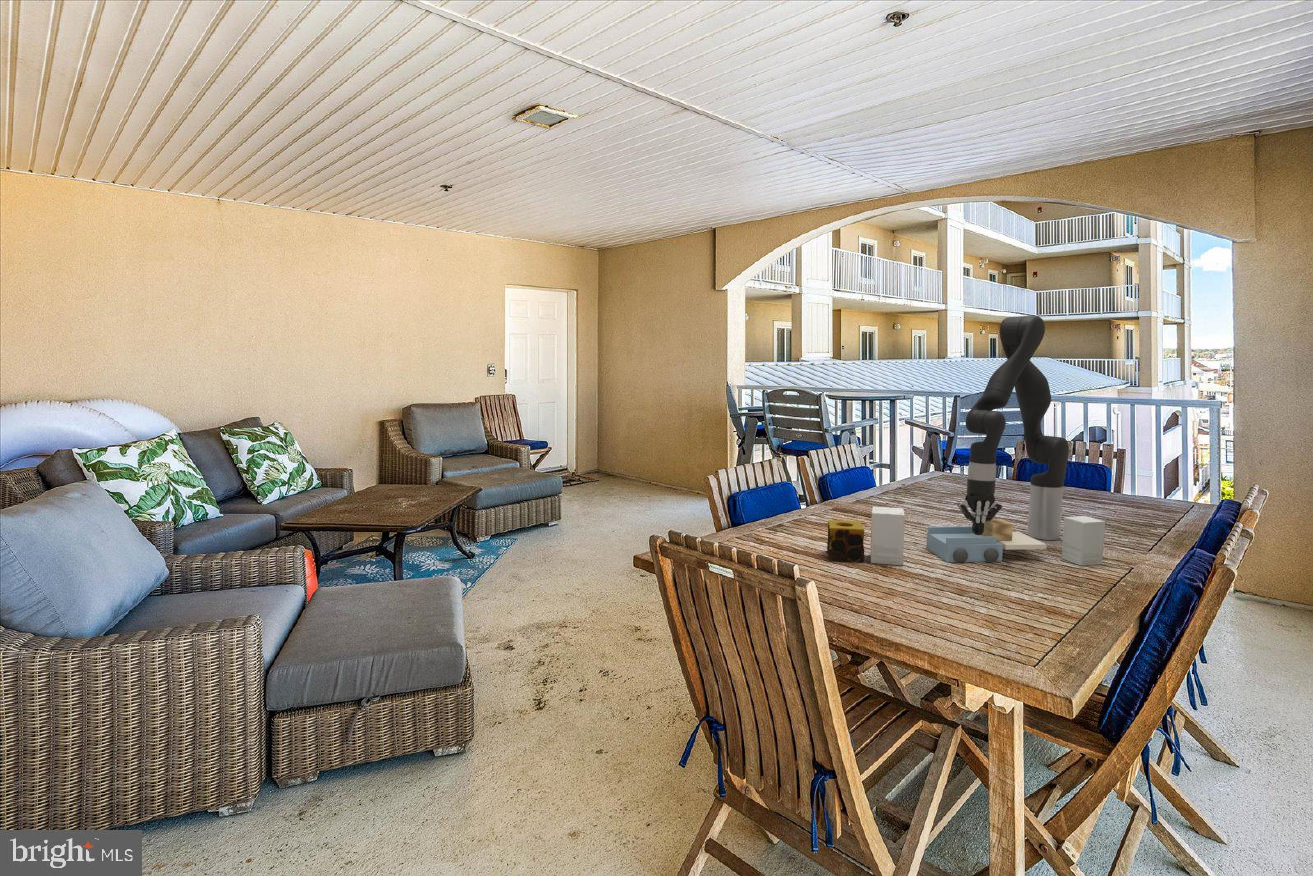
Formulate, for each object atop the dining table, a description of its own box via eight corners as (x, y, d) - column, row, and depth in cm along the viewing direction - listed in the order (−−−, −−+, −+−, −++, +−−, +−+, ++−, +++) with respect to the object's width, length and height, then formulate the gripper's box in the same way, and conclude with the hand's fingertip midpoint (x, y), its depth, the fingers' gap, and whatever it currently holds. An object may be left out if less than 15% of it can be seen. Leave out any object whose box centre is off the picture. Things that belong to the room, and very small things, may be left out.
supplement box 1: (902, 557, 195) (904, 507, 193) (903, 566, 186) (905, 514, 184) (870, 554, 197) (872, 505, 196) (869, 563, 189) (871, 512, 187)
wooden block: (1000, 535, 199) (1002, 519, 199) (1011, 540, 193) (1013, 524, 193) (981, 535, 199) (982, 519, 198) (991, 540, 193) (993, 524, 192)
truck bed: (975, 546, 205) (976, 524, 204) (1003, 562, 189) (1004, 538, 188) (925, 547, 204) (926, 525, 203) (948, 563, 189) (950, 539, 188)
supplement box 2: (1103, 564, 186) (1106, 521, 185) (1080, 566, 185) (1083, 522, 184) (1082, 557, 194) (1085, 515, 192) (1060, 558, 192) (1063, 516, 191)
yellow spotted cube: (864, 563, 189) (865, 529, 188) (828, 561, 191) (829, 528, 190) (860, 552, 199) (861, 520, 198) (826, 551, 201) (827, 519, 200)
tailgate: (980, 536, 203) (1018, 535, 204) (1005, 549, 189) (1046, 549, 190) (980, 531, 203) (1018, 531, 204) (1006, 544, 189) (1046, 544, 190)
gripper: (996, 475, 198) (992, 531, 200) (953, 475, 197) (949, 531, 199) (1010, 479, 190) (1006, 537, 192) (966, 479, 190) (962, 538, 192)
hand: (977, 534), depth 196 cm, fingers closed
